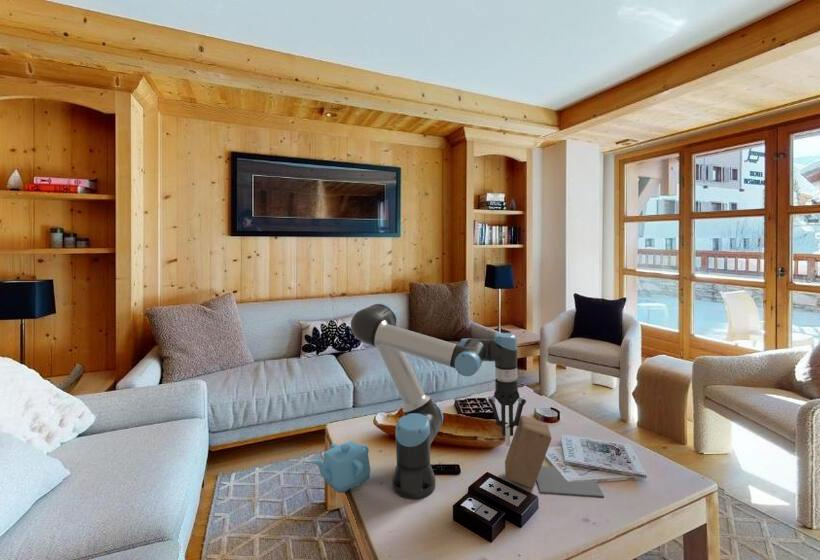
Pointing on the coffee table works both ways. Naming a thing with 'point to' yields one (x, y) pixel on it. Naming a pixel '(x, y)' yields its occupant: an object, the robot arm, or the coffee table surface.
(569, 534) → the coffee table surface
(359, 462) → the teapot
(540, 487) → the mat
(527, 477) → the wooden block
